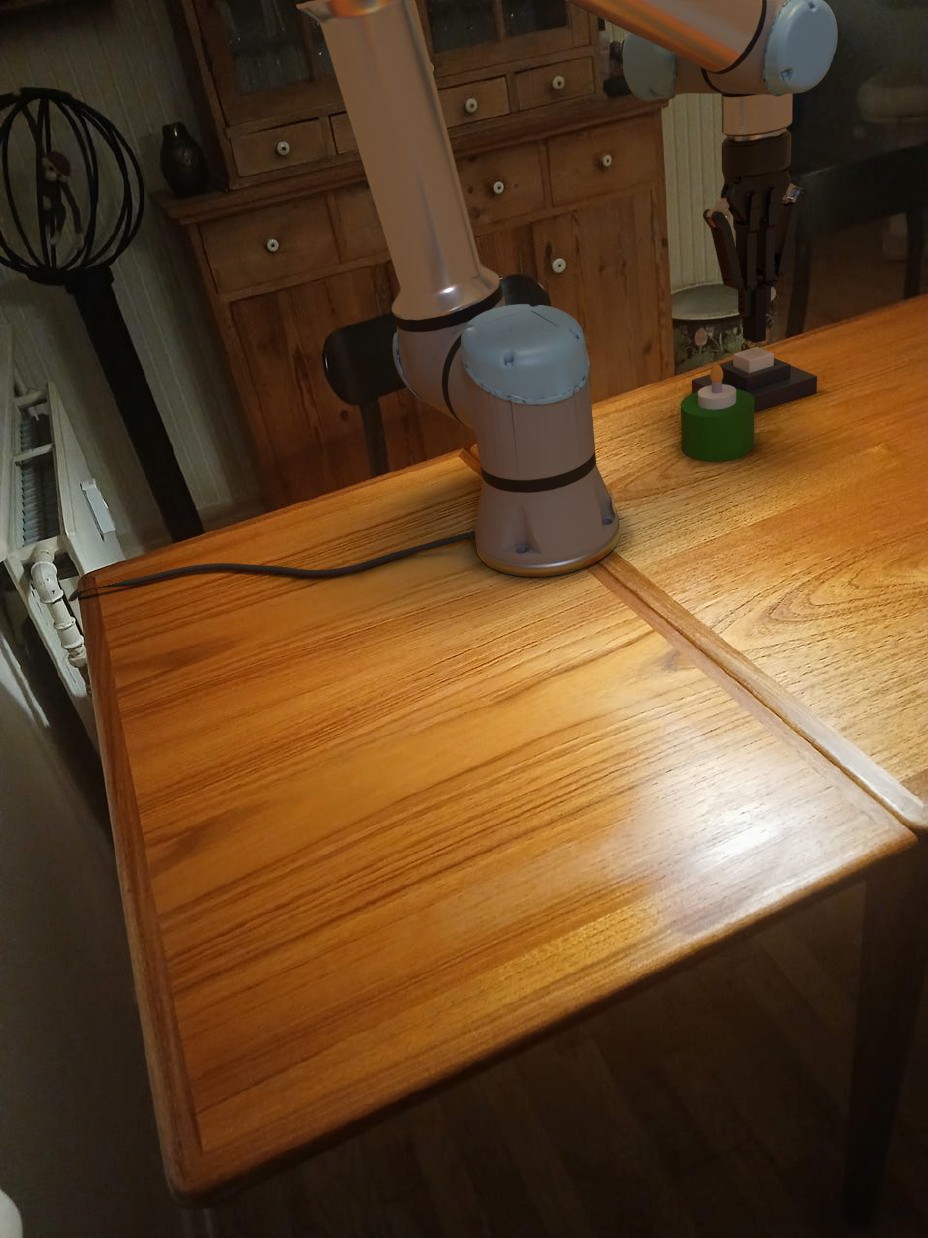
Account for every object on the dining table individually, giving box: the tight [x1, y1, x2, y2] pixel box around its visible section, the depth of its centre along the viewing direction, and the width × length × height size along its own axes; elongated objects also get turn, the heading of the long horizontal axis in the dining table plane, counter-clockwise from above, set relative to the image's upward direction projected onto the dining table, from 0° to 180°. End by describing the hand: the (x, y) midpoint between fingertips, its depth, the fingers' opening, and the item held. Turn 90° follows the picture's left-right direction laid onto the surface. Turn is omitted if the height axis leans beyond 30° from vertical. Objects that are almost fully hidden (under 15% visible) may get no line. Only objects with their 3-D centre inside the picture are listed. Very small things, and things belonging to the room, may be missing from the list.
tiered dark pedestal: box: [691, 357, 818, 413], centre depth 122 cm, size 12×10×4 cm
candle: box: [680, 363, 755, 462], centre depth 110 cm, size 8×8×10 cm
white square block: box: [732, 346, 775, 373], centre depth 121 cm, size 4×4×2 cm
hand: (754, 338), depth 120 cm, fingers closed
